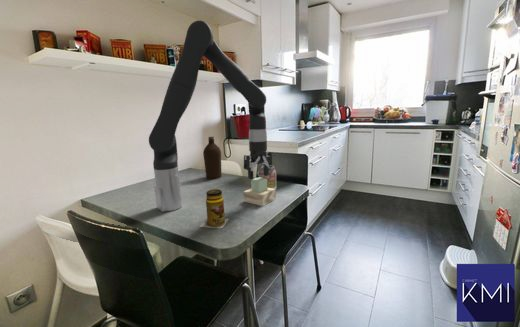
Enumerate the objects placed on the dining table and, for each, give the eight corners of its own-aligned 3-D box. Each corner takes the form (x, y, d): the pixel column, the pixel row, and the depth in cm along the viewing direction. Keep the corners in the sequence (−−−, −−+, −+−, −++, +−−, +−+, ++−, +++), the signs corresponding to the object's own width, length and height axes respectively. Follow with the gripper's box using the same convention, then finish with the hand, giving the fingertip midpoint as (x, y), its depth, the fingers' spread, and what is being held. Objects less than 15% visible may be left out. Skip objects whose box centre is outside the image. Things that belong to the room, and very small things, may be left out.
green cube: (258, 192, 105) (258, 181, 104) (251, 190, 109) (251, 179, 108) (267, 190, 109) (267, 178, 108) (260, 187, 112) (259, 177, 111)
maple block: (263, 206, 103) (262, 195, 102) (244, 202, 109) (243, 191, 108) (275, 199, 111) (275, 188, 110) (257, 195, 117) (257, 185, 116)
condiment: (222, 228, 84) (220, 194, 81) (198, 227, 85) (195, 194, 83) (228, 219, 91) (226, 188, 88) (206, 218, 92) (204, 187, 90)
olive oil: (220, 179, 148) (217, 137, 143) (203, 179, 149) (199, 137, 144) (224, 175, 158) (221, 135, 153) (208, 175, 159) (205, 136, 154)
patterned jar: (264, 194, 118) (263, 169, 115) (255, 190, 124) (254, 166, 122) (279, 190, 122) (279, 166, 120) (270, 186, 129) (269, 164, 127)
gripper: (250, 142, 97) (251, 182, 100) (276, 139, 106) (276, 175, 109) (239, 140, 103) (240, 178, 106) (264, 138, 112) (265, 173, 115)
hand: (258, 177), depth 108 cm, fingers open, 8 cm apart
